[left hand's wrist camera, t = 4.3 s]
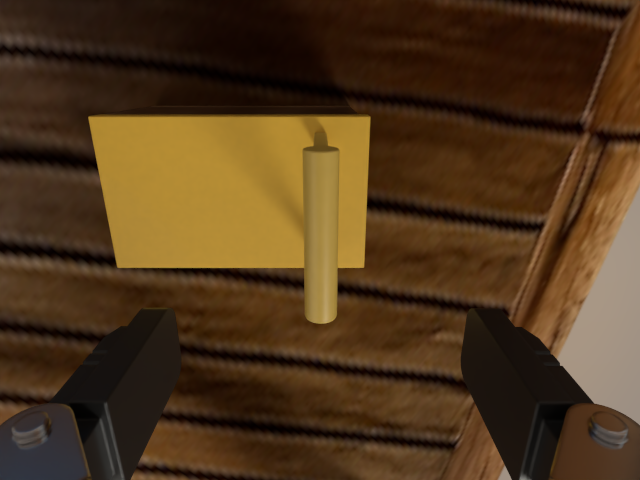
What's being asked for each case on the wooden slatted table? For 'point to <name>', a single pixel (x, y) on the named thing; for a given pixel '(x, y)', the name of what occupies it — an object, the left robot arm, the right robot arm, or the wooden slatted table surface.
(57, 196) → the wooden slatted table surface
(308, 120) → the lid
